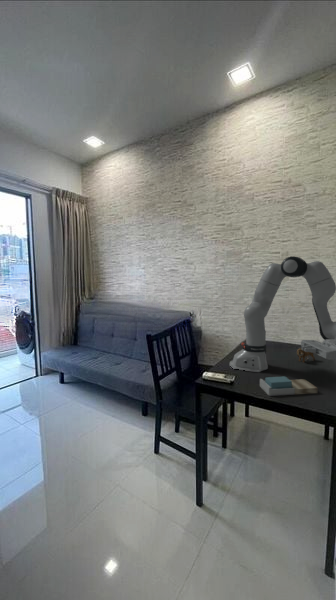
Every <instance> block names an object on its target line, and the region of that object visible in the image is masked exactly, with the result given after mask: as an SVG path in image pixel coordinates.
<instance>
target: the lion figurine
mask: <svg viewBox="0 0 336 600" xmlns="http://www.w3.org/2000/svg"><path fill="white" fill-rule="evenodd" d="M296 355H297V356H298V362H301V361H302V363H305V360H307V361H308V360H309V358H310V357H311V359H312V361H313V362H315V360H316V357H315V356H314V353H312V352H305V351H303V350H302V347H300V348H298V349H297V350H296ZM306 357H307V358H306Z"/></svg>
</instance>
